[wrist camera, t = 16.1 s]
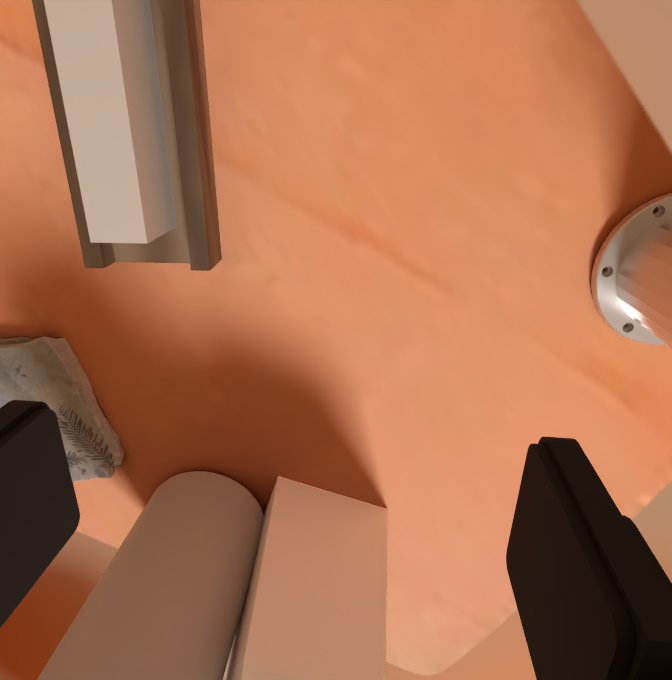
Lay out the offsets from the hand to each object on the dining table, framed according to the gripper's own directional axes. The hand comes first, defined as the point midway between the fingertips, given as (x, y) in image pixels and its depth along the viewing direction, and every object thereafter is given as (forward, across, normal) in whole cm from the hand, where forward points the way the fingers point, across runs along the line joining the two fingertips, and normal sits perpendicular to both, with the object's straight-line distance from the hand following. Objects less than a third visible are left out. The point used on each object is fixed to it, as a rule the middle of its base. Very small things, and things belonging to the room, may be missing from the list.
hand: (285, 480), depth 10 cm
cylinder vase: (+32, +15, +32) cm, 48 cm away
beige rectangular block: (+31, +17, -7) cm, 36 cm away
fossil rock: (+32, +32, +20) cm, 50 cm away
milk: (+33, +4, +34) cm, 48 cm away
